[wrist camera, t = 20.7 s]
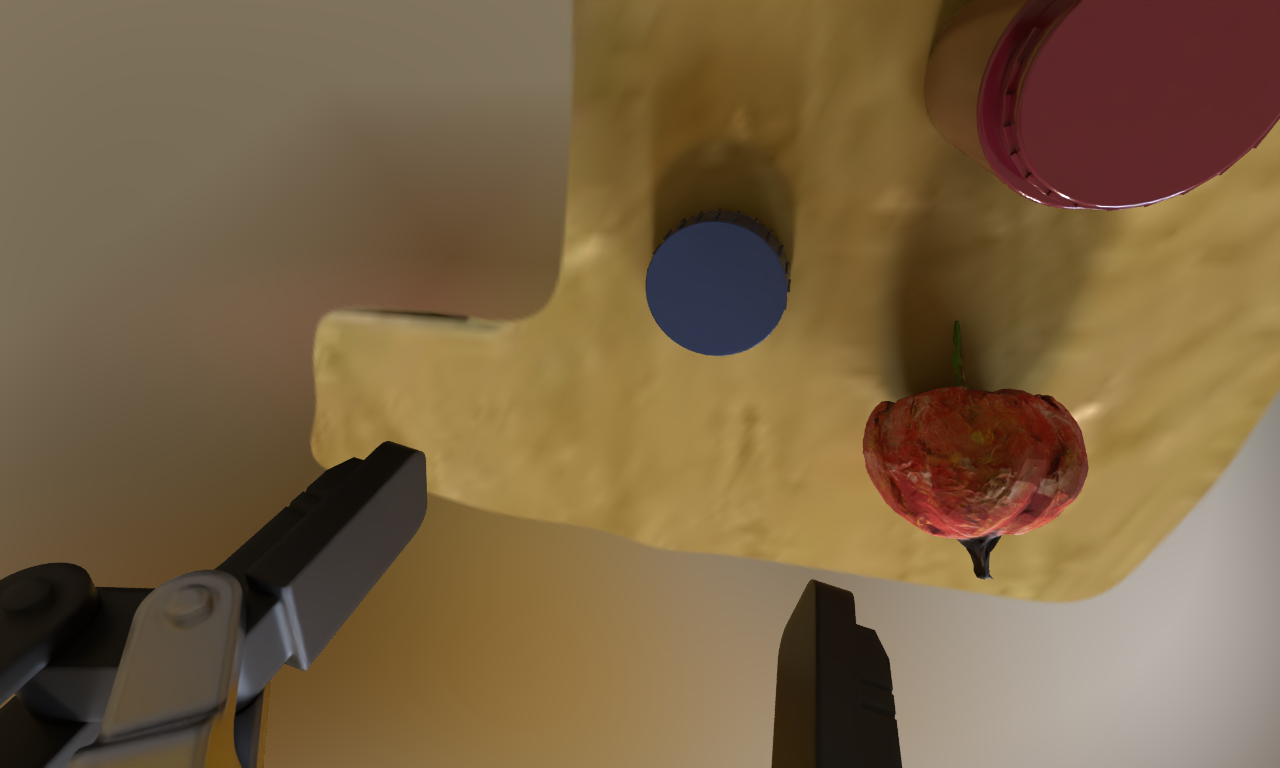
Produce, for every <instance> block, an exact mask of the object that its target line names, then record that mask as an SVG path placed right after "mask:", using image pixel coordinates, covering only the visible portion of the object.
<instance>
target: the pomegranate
mask: <svg viewBox="0 0 1280 768" xmlns="http://www.w3.org/2000/svg"><path fill="white" fill-rule="evenodd" d="M953 342H954V346H955V350H954V353H953V356H952V360H951V364H952V366H953V368H954V370H955V371H956V375H957V387H945V388H938V389H933V390H930V391H928V392H924V393H919V394H913V395H910V396H907V397H905V398H903V399H900V400H898V401H897V402H896V403H894V402H890V401H882V402H881V403H880V404H878V405H877V406H876V407H875V409H874V410H873V411H872V413H871V415H870V417H869V419H868V421H867V423H866V428H865V434H864V438H863V454H864V457H865V462H866V469H867V472H868V474H869V476H870V478H871V480H872V482H873V484H874V485H875V487H876V488H877V490H878V491H879V493H880V494H881V496H882V498H883V499H884V501H885V502H886V503H887V504H888V505H889V506H890V507H891V508H892V509H893V510H894V511H895V512H896V513H898V514H899V515H900V516H902V517H903V518H905V519H906V520H907V521H909V522H910V523H912V524H913V525H915V526H916V527H918V528H919V529H921V530H923V531H924V532H926V533H927V534H930V535H934V536H939V537H946V538H954V539H957V540H958V541H959V542H960V543H961V544H962V545H964V546H965V547H966V549H967V550H968V552H969V554H970V555H971V558H972V561H973V564H974V573H975V574H976V576H977V577H978V578H980V579H986V578H987V579H993V578H992V577H991V575H990V574H989V557H990V552H991V551H992V550H993V548H994V547H995V546H996V544H997V542H998V541H999V539H1000V538H1001V536H1002V535H1003V534H1010V535H1020V534H1024V533H1027V532H1029V531H1030V530H1033V529H1036V528H1039V527H1041V526H1043V525H1045V524H1047V523H1048V522H1050V521H1051V520H1053V519H1054V518H1056V517H1057V516H1059V515H1060V514H1061V512H1062V511H1063V510H1064V509H1065V508H1066V507H1067V506H1068V505H1069V504H1071V503H1072V502H1073V501H1075V499H1076V498H1077V496H1078V495H1079V493H1080V492H1081V490H1082V487H1083V485H1084V482H1085V479H1086V477H1087V473H1088V460H1087V454H1086V449H1085V445H1084V440H1083V436H1082V432H1081V430H1080V428H1079V426H1078V424H1077V422H1076V421H1075V419H1074V418H1073V417H1072V416H1071V414H1070V413H1069V411H1068V410H1067V409H1066V408H1065V407H1064V406H1063V405H1062V404H1061V403H1059V402H1057V401H1056V400H1055V399H1054V398H1053V397H1052V396H1049V395H1040V394H1037V395H1032V394H1029V393H1027V392H1025V391H1023V390H1014V389H1001V390H998V391H995V392H986V391H978V390H974V389H971V388H967V383H966V380H965V374H964V366H963V357H962V344H961V332H960V324H959V320H956V321H955V325H954V334H953Z"/></svg>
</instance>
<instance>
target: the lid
mask: <svg viewBox="0 0 1280 768" xmlns="http://www.w3.org/2000/svg"><path fill="white" fill-rule="evenodd" d="M757 220H758V219H756V218H755V219H753V218H751V217H749V216H746V215H743V214H740V211H737V213H736V212H731V211H721V209H718V211H709V212H705V213H703V211H701V212H700V213H699V214H698V215H695V216H693V217H691V218H689V219H687V220H686V218H685V219H683V220H682V222H681V223H680V224H679V225H678V226H677V227H676V228H675V229H673V230H670V231H669V232H668V233H667V235H666V236H665V237H664V238H663V240H664V241H663V243H662V244H661V243H660V245H659V246H658V247H657V249H656V250H655V251H654V253H653V254H654V256H653V257H652V260H651V262H650V264H649V267H648V269H647V276H646V297H647V302H648V306H649V308H650V311H651V313H652V316H653V317H654V319H655V321H656V323H657V324H658V325H659V327H660V328H661V329H662V331H663V332H664V333H665V334H666V335H667V336H668V337H670V338H671V339H672V340H673V341H674V342H676V343H677V344H679V345H681V346H682V347H684V348H686V349H688V350H691V351H694V352H696V353H700V354H704V355H712V356H725V355H732V354H737V353H740V352H743V351H746V350H748V349H750V348H752V347H754V346H756V345H757V344H759V343H760V342H762V341H763V340H764V339H765V338H766V337H767V336H768V335H770V333H771V332H772V331H773V330H774V329H775V327H776V326H777V325H778V322H779V321H780V319H781V317H782V314H783V312H784V310H786V305H787V292H790V282H791V279H789V262H787V260H786V256H785V253H784V251H783V245H780V244H779V242H778V240H777V239H776V238H775V236H774V235H773V234H772V230H770V231H769V230H768V229H767V228H766V227H765V226H764V225H762V224H761V223H759V222H758V221H757Z"/></svg>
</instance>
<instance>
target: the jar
mask: <svg viewBox="0 0 1280 768" xmlns="http://www.w3.org/2000/svg"><path fill="white" fill-rule="evenodd" d="M924 98H925V104H926V109H927V113H928V115H929V118H930V121H931V122H932V124H933V126H934V128H935V129H936V131H937V132H938V133H939V135H940V136H941V137H942V138H943V139H944V140H945V141H946V142H948V143H949V144H950V145H951V146H953V147H954V148H956V149H957V150H958V151H960V152H961V153H962V154H964V155H965V156H966V157H968V158H969V159H971V160H972V161H973V162H975V163H976V164H977V165H979V166H980V167H982V168H983V169H984V170H986V171H987V172H988V173H990V174H991V175H992V176H994V177H995V178H997V179H998V180H999V181H1001V182H1002V183H1003V184H1005V185H1006V186H1008V187H1009V188H1010V189H1012V190H1013V191H1015V192H1016V193H1018V194H1019V195H1021V196H1023V197H1025V198H1027V199H1029V200H1031V201H1034V202H1036V203H1040V204H1043V205H1046V206H1050V207H1056V208H1063V209H1098V210H1108V211H1114V210H1120V209H1127V208H1134V207H1141V206H1144V207H1147V206H1149V205H1152V204H1155V203H1158V202H1160V201H1163V200H1166V199H1169V198H1171V197H1174V196H1177V195H1180V194H1181V195H1184V194H1186V193H1187V192H1189V191H1191V190H1193V189H1194V188H1196V187H1198V186H1199V185H1201V184H1203V183H1205V182H1206V181H1208V180H1210V179H1211V178H1213V177H1215V176H1217V175H1222V174H1223V173H1224V172H1225V171H1226V170H1227V169H1229V168H1230V167H1231V166H1232V165H1233V164H1234V163H1236V162H1237V161H1238V160H1239V159H1240V158H1242V157H1243V156H1244V155H1245V154H1246V153H1247V152H1249V151H1250V150H1251V149H1252V148H1257V146H1258V145H1259V144H1260V143H1261V141H1262V140H1263V139H1264V138H1265V136H1266V135H1267V134H1268V133H1269V131H1270V130H1271V129H1272V128H1273V126H1274V125H1275V124H1276V123H1277V121H1278V120H1279V119H1280V0H970V1H969V2H968V3H967V4H965V5H964V6H963V7H962V8H961V9H960V10H959V11H958V12H957V13H956V15H955V16H954V17H953V18H952V19H951V20H950V22H949V23H948V24H947V26H946V27H945V29H944V30H943V31H942V33H941V35H940V37H939V38H938V40H937V42H936V44H935V46H934V48H933V50H932V53H931V55H930V58H929V62H928V65H927V69H926V74H925V82H924Z"/></svg>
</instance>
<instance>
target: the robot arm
mask: <svg viewBox="0 0 1280 768" xmlns="http://www.w3.org/2000/svg"><path fill="white" fill-rule="evenodd" d="M426 509H427V482H426V457H425V454H424V453H423V452H422V451H419V450H415V449H412V448H409V447H406V446H403V445H400V444H397V443H394V442H391V441H386V442H384V443H382V444H381V445H379V446H378V447H377V448H376V449H375V450H374V451H373V452H372V453H371V454H370V455H369V456H368V457H367V458H366V459H365V460H361V459H358V458H355V457H353V458H351V459H349V460H347V461H345V462H343V463H341V464H339V465H337V466H334V467H332V468H330V469H328V470H327V471H325V472H324V473H323V474H322V475H321V476H320V477H319V478H318V479H317V480H315V481H314V482H313V483H312V484H311V485H310V486H309V487H308V488H307V490H306V492H302V493H301V494H300V495H299V496H298V497H296V498H295V499H294V500H293V501H292V502H291V503H290V506H289V507H285V508H284V509H283V510H282V511H281V512H280V513H278V514H277V515H276V516H275V517H274V518H273V519H272V520H271V521H269V522H268V523H267V524H266V525H265V526H264V527H263V528H262V529H260V531H258V532H257V533H256V534H255V535H254V536H253V537H251V538H250V539H249V540H248V541H247V542H246V543H245V544H244V545H242V546H241V547H240V548H239V549H238V550H237V551H236V552H235V553H234V554H232V555H231V557H229V558H228V559H227V560H226V561H225V562H223V563H222V564H221V565H220V566H218V567H217V568H216V569H214V570H201V571H195V572H190V573H186V574H183V575H180V576H178V577H175V578H173V579H171V580H169V581H167V582H165V583H164V584H162V585H161V586H159V587H158V588H153V589H152V588H151V589H149V588H114V587H95V585H94V583H93V582H92V580H91V578H90V576H89V574H88V573H87V571H86V570H85V569H83V568H82V567H80V566H77V565H75V564H70V563H48V564H43V565H38V566H34V567H30V568H27V569H24V570H21V571H19V572H16V573H14V574H11V575H9V576H7V577H5V578H4V579H2V580H0V705H1V704H2V703H3V702H5V701H6V700H7V699H8V698H9V697H10V696H11V695H13V694H14V693H15V695H16V696H14V697H13V698H12V699H11V700H10V701H9V702H8V703H6V704H5V705H4V706H3V707H2V708H1V709H0V768H263V766H264V754H265V743H266V732H267V731H266V730H267V720H268V710H269V698H270V680H271V679H272V677H273V676H274V675H275V674H276V673H277V671H278V670H279V669H280V668H281V667H282V666H283V664H287V665H290V666H292V667H295V668H298V669H300V670H303V671H306V670H307V669H308V667H309V666H310V665H311V664H312V662H313V661H314V660H315V659H316V657H317V656H318V655H319V654H320V652H321V651H322V650H323V649H324V647H325V646H326V645H327V644H328V642H329V641H330V639H332V637H333V636H334V635H335V634H336V632H337V631H338V630H339V629H340V627H341V626H342V625H343V624H344V622H345V621H346V620H347V619H348V617H349V616H350V615H351V614H352V612H353V611H354V610H355V609H356V607H357V606H358V605H359V604H360V602H361V601H362V600H363V598H364V597H365V596H366V595H367V594H368V592H369V591H370V590H371V589H372V587H373V586H374V585H375V584H376V583H377V581H378V580H379V579H380V578H381V576H382V575H383V574H384V573H385V571H386V570H387V568H389V566H390V565H391V564H392V562H393V561H394V560H395V559H396V558H397V556H398V555H399V554H400V552H401V551H402V550H403V549H404V548H405V546H406V545H407V544H408V542H409V541H410V540H411V539H412V537H413V536H414V535H415V534H416V532H417V531H418V529H419V527H420V526H421V524H422V522H423V519H424V516H425V513H426ZM777 669H778V670H777V686H776V701H775V719H774V736H773V753H772V768H902V762H901V755H900V746H899V737H898V729H897V720H895V714H896V713H895V703H894V695H893V694H892V689H893V687H892V679H891V670H890V662H889V658H888V656H887V654H886V652H885V650H884V648H883V646H882V644H881V642H880V640H879V638H878V636H877V634H876V632H875V630H872V629H869V628H866V627H863V626H860V625H857V624H856V616H855V602H854V596H853V594H852V593H851V592H850V591H847V590H844V589H841V588H838V587H835V586H832V585H829V584H826V583H822V582H819V581H816V580H813V579H812V580H810V581H809V583H808V584H807V586H806V588H805V590H804V592H803V594H802V596H801V598H800V600H799V602H798V603H797V605H796V607H795V610H794V611H793V613H792V615H791V617H790V619H789V621H788V623H787V625H786V627H785V629H784V632H783V635H782V639H781V643H780V648H779V655H778V667H777Z"/></svg>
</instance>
